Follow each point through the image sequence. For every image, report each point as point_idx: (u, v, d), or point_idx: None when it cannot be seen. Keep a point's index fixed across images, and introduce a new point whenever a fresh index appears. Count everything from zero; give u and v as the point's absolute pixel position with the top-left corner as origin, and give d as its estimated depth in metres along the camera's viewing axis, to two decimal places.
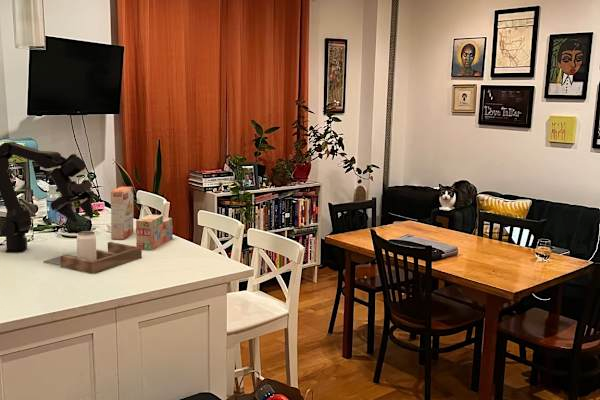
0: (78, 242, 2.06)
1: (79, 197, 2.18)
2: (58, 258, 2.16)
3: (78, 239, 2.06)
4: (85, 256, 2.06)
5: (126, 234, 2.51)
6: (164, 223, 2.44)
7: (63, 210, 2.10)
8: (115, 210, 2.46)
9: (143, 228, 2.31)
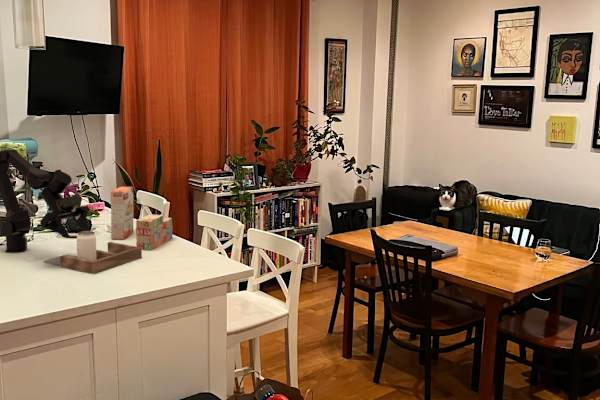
0: (78, 242, 2.06)
1: (72, 213, 2.14)
2: (58, 258, 2.16)
3: (78, 239, 2.06)
4: (85, 256, 2.06)
5: (126, 234, 2.51)
6: (164, 223, 2.44)
7: (54, 226, 2.06)
8: (115, 210, 2.46)
9: (143, 228, 2.31)
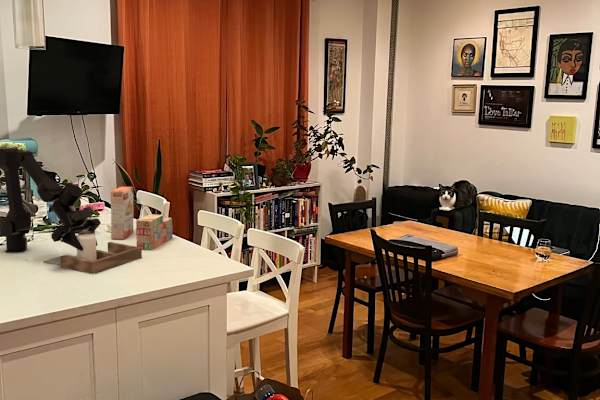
0: None
1: (83, 226, 2.13)
2: (58, 258, 2.16)
3: (78, 239, 2.06)
4: (85, 256, 2.06)
5: (126, 234, 2.51)
6: (164, 223, 2.44)
7: (68, 239, 2.06)
8: (115, 210, 2.46)
9: (143, 228, 2.32)
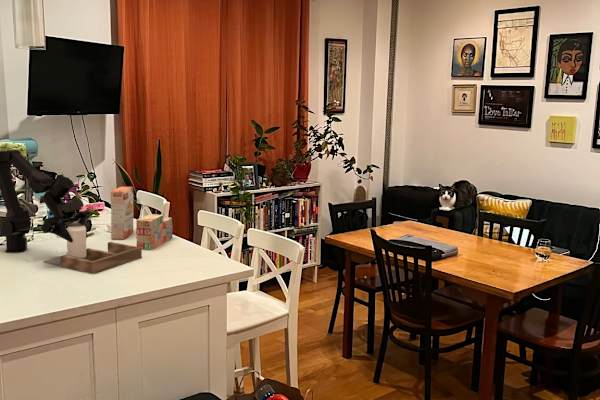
0: None
1: (74, 218, 2.14)
2: (58, 258, 2.16)
3: (68, 231, 2.08)
4: (74, 248, 2.08)
5: (126, 234, 2.51)
6: (164, 223, 2.44)
7: (58, 231, 2.07)
8: (115, 210, 2.46)
9: (144, 228, 2.32)
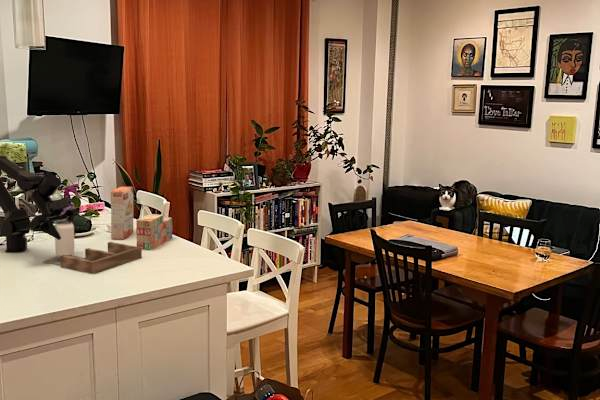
0: None
1: (62, 216, 2.17)
2: (58, 258, 2.16)
3: (56, 228, 2.10)
4: (62, 245, 2.11)
5: (126, 234, 2.51)
6: (164, 223, 2.45)
7: (46, 228, 2.10)
8: (115, 210, 2.46)
9: (144, 228, 2.32)
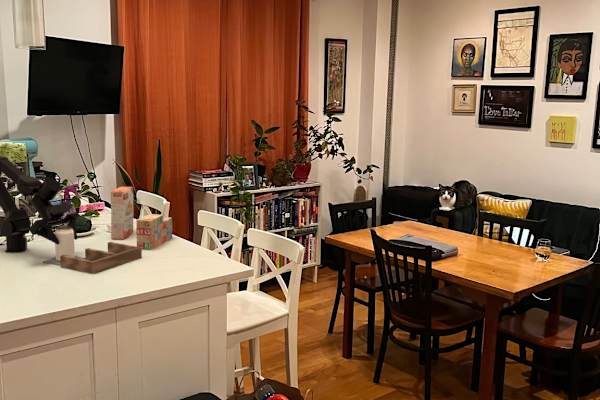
0: None
1: (62, 220, 2.17)
2: None
3: (56, 234, 2.10)
4: (62, 251, 2.11)
5: (126, 234, 2.51)
6: (164, 223, 2.45)
7: (45, 233, 2.09)
8: (115, 210, 2.46)
9: (144, 228, 2.32)
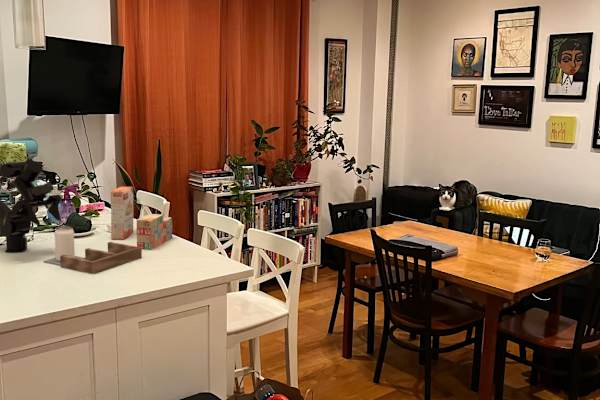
0: (56, 237, 2.11)
1: (44, 201, 2.20)
2: None
3: (56, 234, 2.10)
4: (62, 251, 2.11)
5: (126, 234, 2.51)
6: (164, 222, 2.45)
7: (25, 214, 2.12)
8: (115, 210, 2.46)
9: (144, 227, 2.32)
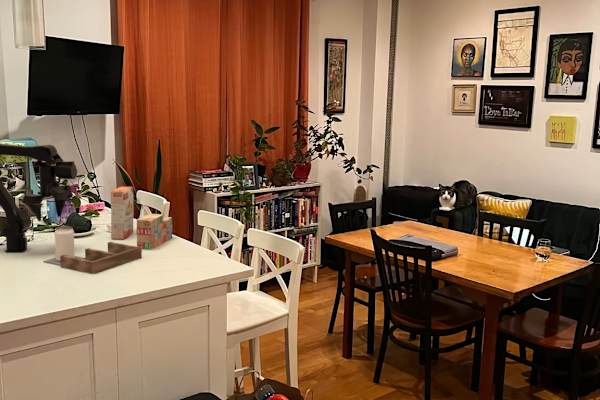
0: (56, 237, 2.11)
1: None
2: None
3: (56, 234, 2.10)
4: (62, 251, 2.11)
5: (126, 234, 2.51)
6: (164, 222, 2.45)
7: (33, 205, 2.18)
8: (115, 210, 2.46)
9: (144, 227, 2.33)
